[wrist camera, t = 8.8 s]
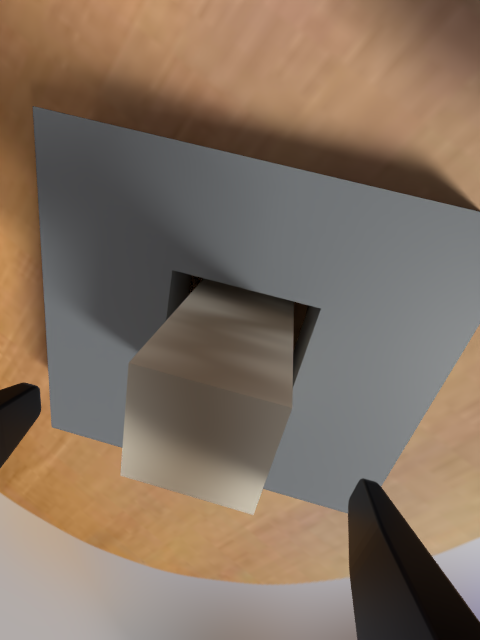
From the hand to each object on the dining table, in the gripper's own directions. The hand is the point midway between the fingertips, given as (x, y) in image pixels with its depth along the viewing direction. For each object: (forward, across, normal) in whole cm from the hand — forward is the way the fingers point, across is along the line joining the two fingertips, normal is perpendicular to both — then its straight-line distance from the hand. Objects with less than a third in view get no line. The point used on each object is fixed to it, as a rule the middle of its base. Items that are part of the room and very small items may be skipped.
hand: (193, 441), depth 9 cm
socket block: (+8, 0, 0) cm, 8 cm away
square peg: (+8, 0, 0) cm, 8 cm away
